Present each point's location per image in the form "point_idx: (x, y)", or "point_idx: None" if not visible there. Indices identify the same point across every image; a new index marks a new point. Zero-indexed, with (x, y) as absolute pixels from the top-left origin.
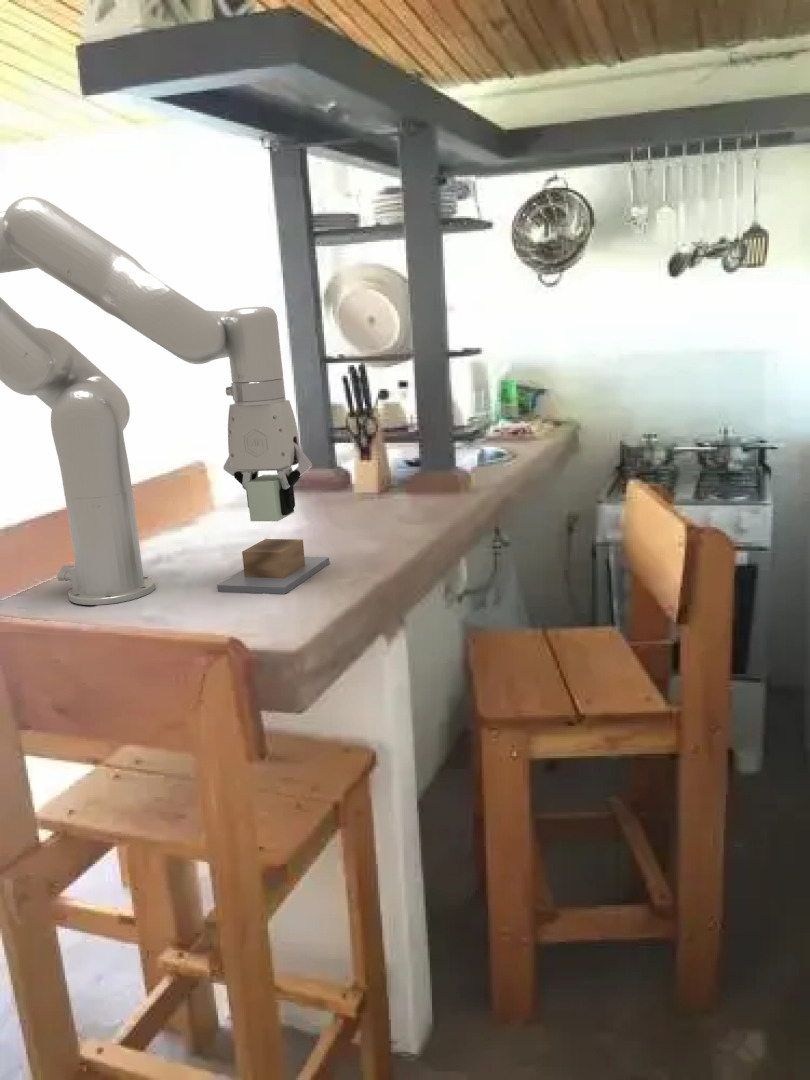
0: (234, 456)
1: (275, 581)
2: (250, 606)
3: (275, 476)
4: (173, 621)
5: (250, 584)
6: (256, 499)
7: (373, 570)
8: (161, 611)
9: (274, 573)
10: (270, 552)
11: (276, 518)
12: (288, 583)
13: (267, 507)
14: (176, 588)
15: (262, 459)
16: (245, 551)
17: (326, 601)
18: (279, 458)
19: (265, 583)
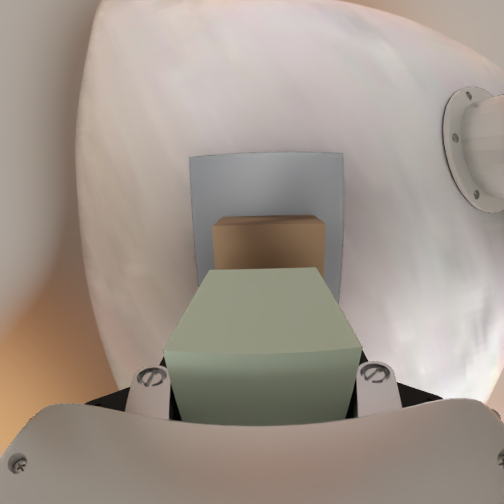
0: (495, 459)
1: (228, 192)
2: (228, 89)
3: None
4: (318, 16)
5: (272, 163)
6: (290, 302)
7: (124, 323)
8: (371, 56)
9: (241, 217)
10: (242, 225)
11: (211, 273)
12: (194, 184)
13: (239, 288)
14: (423, 179)
15: (204, 494)
16: (316, 224)
17: (113, 148)
18: (52, 453)
19: (243, 175)
